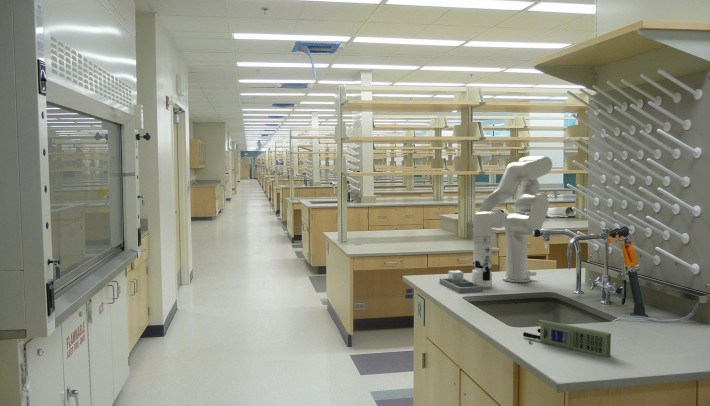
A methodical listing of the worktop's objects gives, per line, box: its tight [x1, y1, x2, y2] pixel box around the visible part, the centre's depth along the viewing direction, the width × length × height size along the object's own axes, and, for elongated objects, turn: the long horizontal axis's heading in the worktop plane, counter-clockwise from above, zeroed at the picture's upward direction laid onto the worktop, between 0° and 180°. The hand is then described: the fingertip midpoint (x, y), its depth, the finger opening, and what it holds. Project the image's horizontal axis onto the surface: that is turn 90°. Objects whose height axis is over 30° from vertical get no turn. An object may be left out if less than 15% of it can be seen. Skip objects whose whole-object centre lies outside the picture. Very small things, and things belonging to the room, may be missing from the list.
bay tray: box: [439, 277, 484, 294], centre depth 231 cm, size 11×21×3 cm, turn 14°
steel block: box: [447, 269, 464, 283], centre depth 236 cm, size 5×5×6 cm
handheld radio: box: [522, 319, 612, 358], centre depth 152 cm, size 7×3×25 cm
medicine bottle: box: [471, 261, 493, 288], centre depth 234 cm, size 7×7×12 cm
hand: (481, 278), depth 234 cm, fingers closed on medicine bottle, 8 cm apart
